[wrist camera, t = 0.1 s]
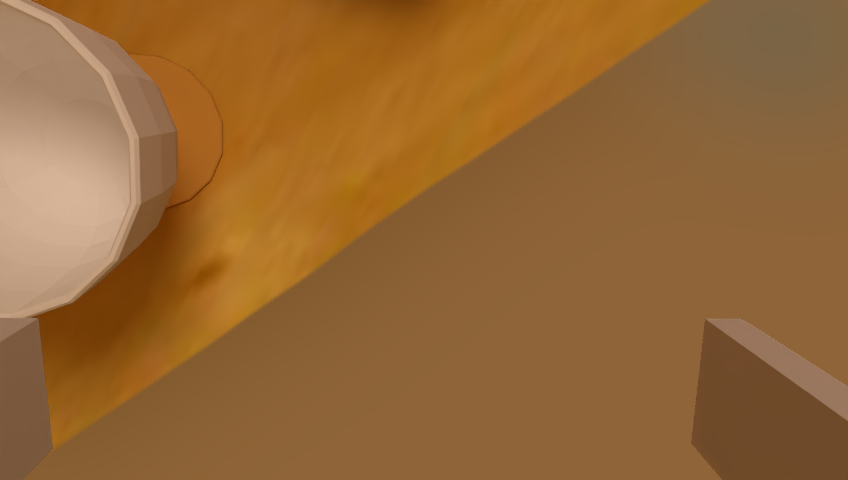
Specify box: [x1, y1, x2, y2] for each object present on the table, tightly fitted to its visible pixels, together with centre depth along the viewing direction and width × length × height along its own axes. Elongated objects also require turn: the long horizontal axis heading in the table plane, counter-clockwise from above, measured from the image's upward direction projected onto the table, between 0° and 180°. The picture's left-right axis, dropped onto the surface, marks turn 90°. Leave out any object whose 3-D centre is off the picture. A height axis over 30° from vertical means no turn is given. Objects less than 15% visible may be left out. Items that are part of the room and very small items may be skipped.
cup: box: [0, 0, 223, 318], centre depth 31 cm, size 12×12×17 cm
